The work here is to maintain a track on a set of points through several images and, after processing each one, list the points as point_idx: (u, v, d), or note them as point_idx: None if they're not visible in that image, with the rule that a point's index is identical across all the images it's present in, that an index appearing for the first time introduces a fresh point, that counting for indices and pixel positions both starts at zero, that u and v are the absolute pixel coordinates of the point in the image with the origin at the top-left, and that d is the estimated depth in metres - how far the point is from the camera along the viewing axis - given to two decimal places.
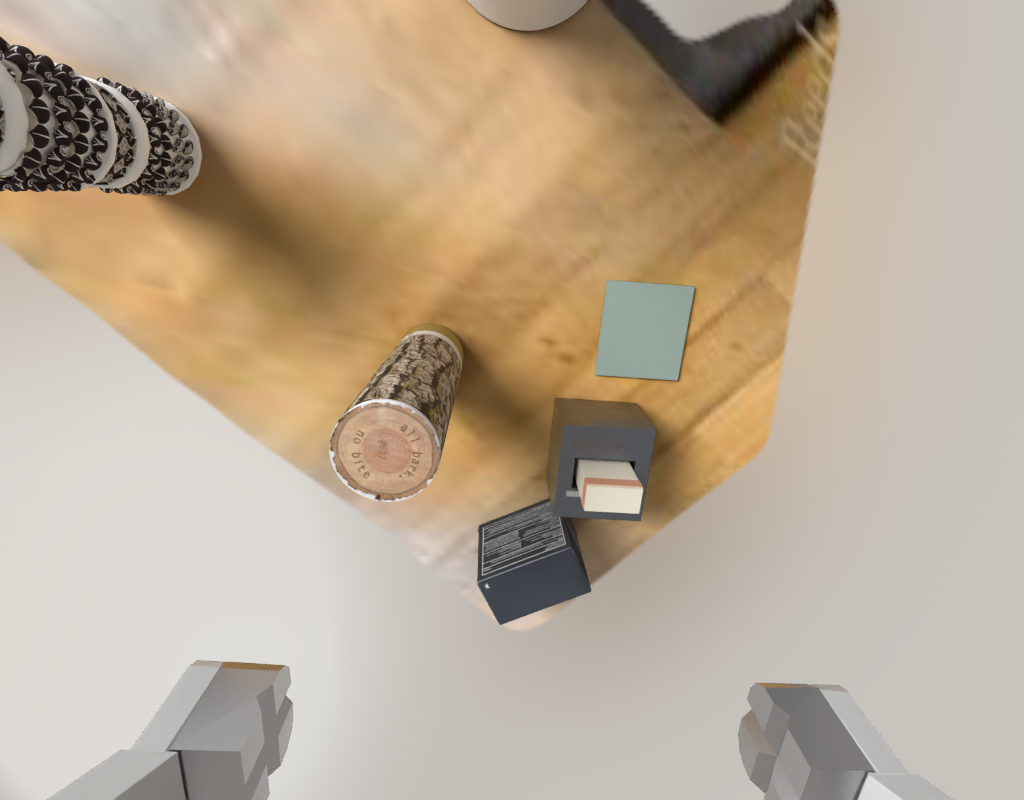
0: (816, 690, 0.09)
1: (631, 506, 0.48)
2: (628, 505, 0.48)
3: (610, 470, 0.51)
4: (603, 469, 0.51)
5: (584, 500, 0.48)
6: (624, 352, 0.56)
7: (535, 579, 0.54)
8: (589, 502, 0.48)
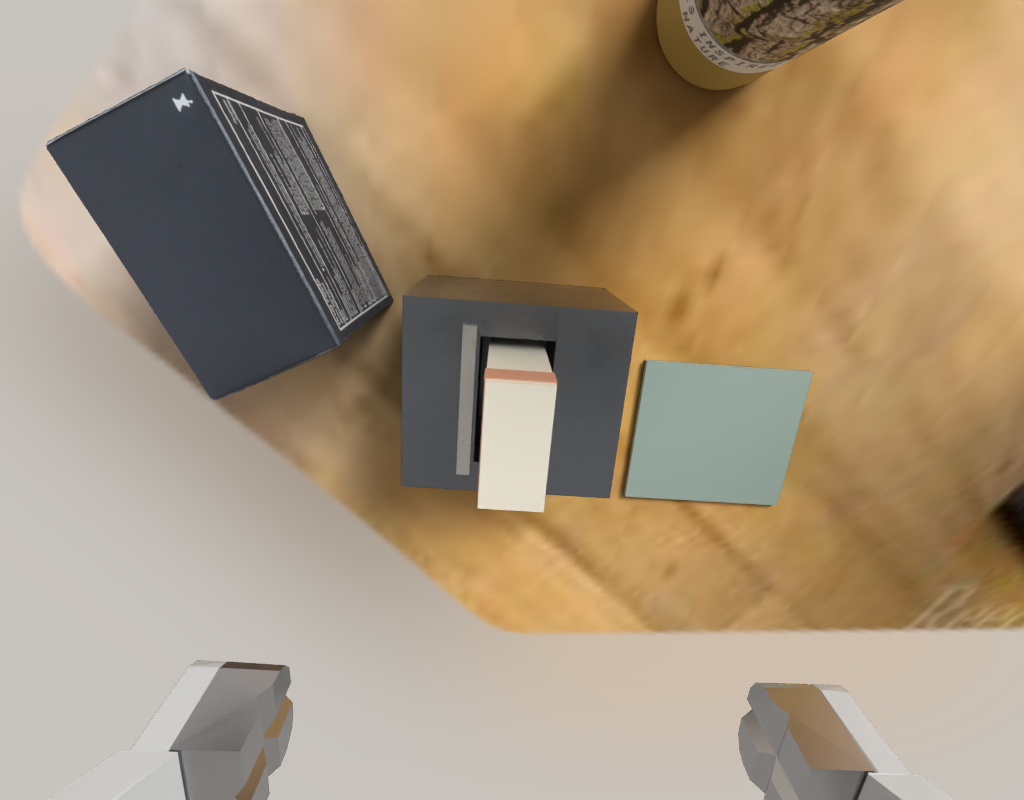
0: (815, 689, 0.09)
1: (497, 490, 0.20)
2: (501, 483, 0.20)
3: None
4: None
5: (508, 378, 0.19)
6: (683, 408, 0.32)
7: (229, 253, 0.19)
8: (511, 393, 0.19)
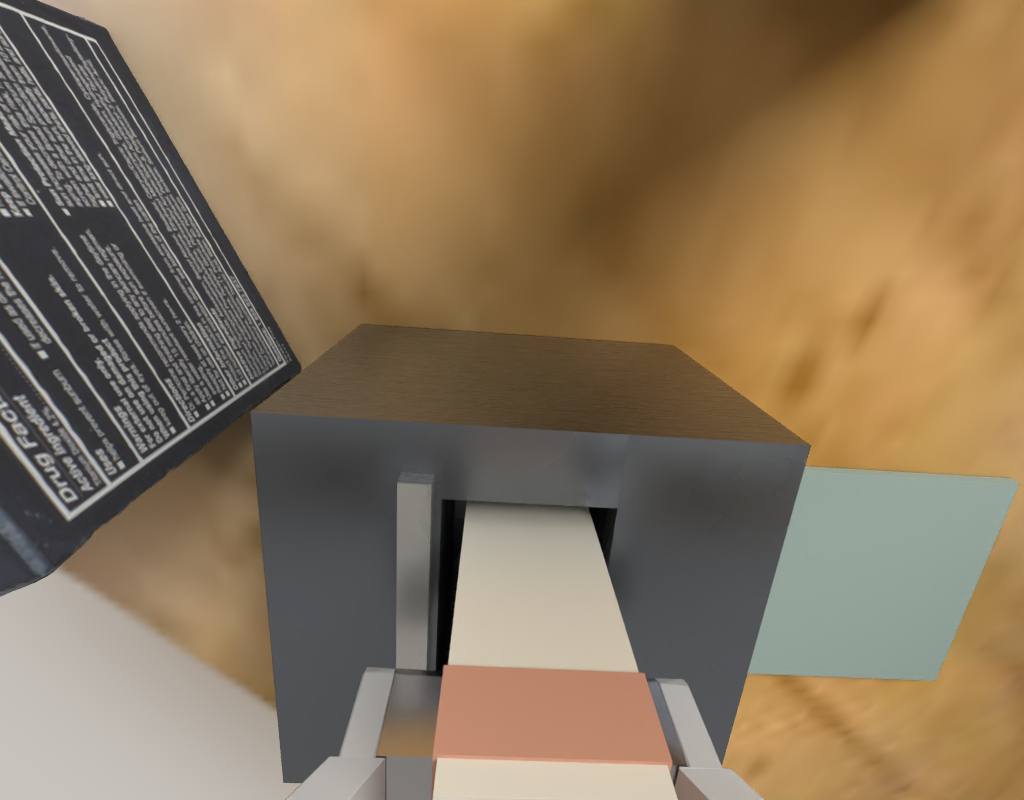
0: (655, 684, 0.09)
1: None
2: None
3: None
4: None
5: (512, 754, 0.06)
6: (798, 540, 0.19)
7: None
8: None
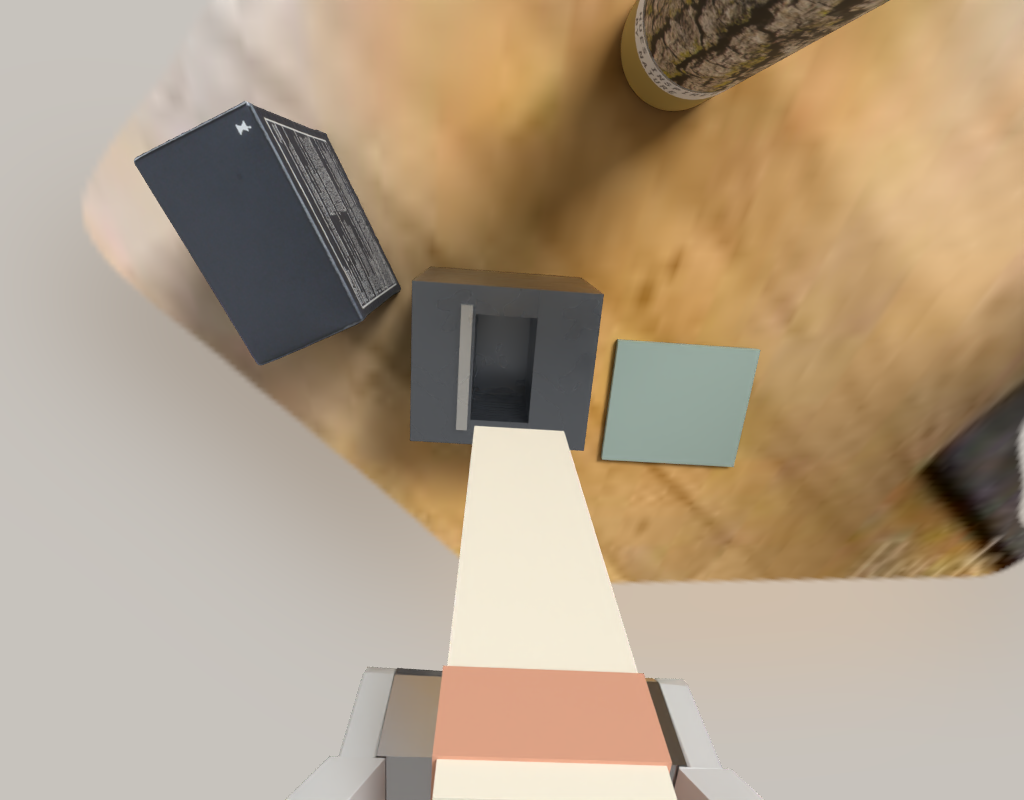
0: (655, 684, 0.09)
1: None
2: None
3: None
4: None
5: (512, 755, 0.06)
6: (650, 381, 0.38)
7: (276, 245, 0.24)
8: None
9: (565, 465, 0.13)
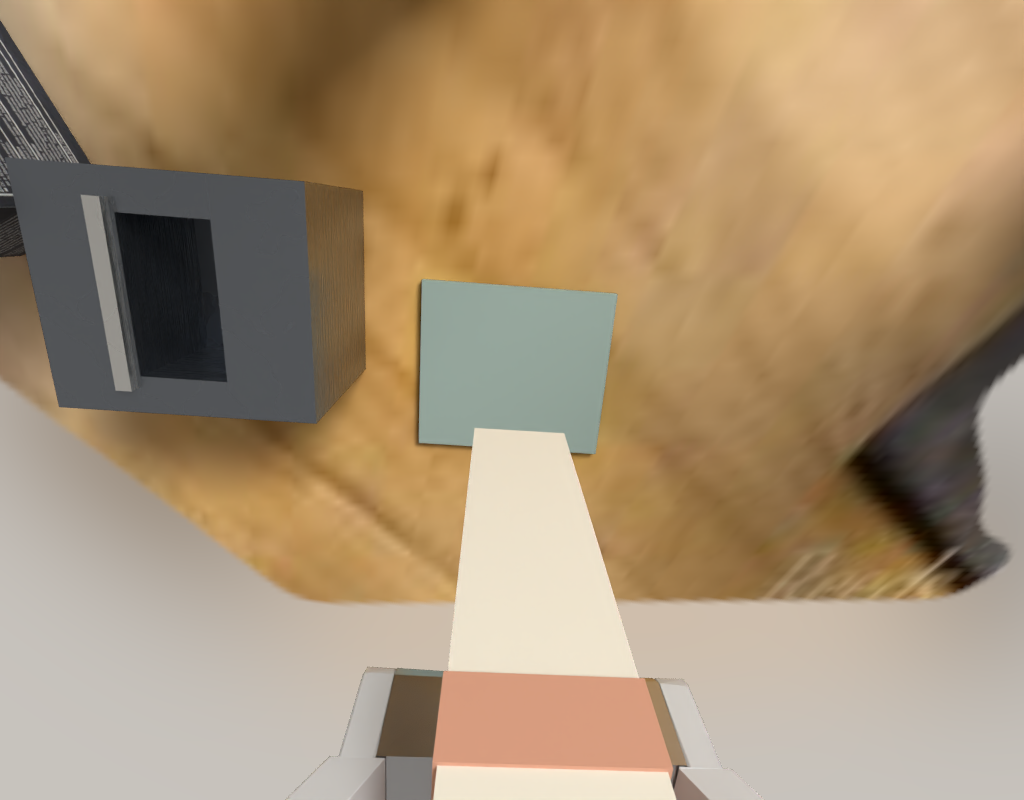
0: (655, 684, 0.09)
1: None
2: None
3: None
4: None
5: (512, 761, 0.06)
6: (472, 337, 0.28)
7: None
8: None
9: (565, 467, 0.13)
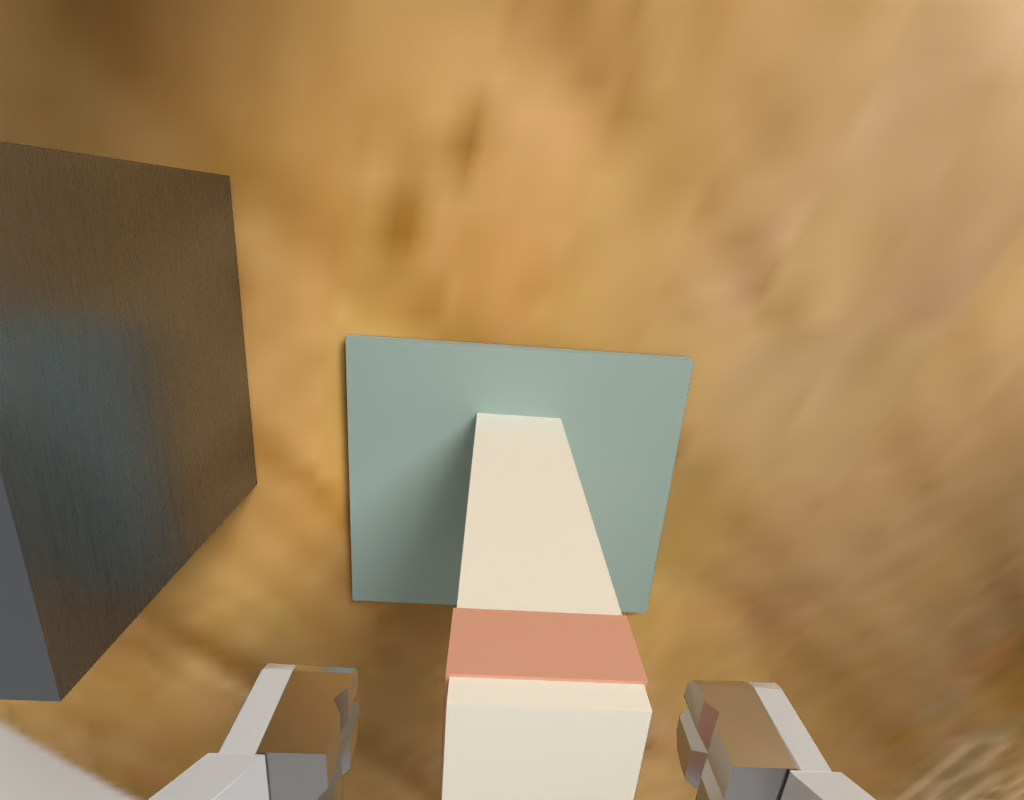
0: (749, 687, 0.09)
1: None
2: None
3: None
4: None
5: (512, 674, 0.07)
6: (438, 434, 0.16)
7: None
8: (520, 729, 0.07)
9: (561, 447, 0.14)
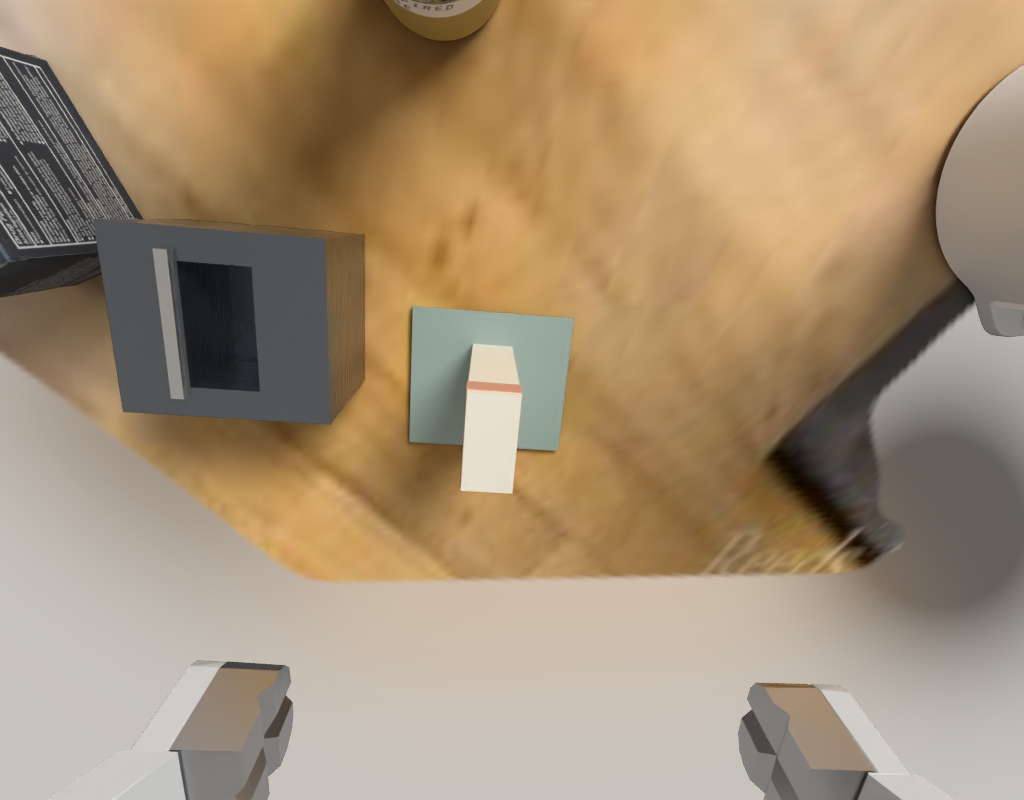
0: (816, 690, 0.09)
1: (476, 476, 0.26)
2: (479, 470, 0.25)
3: None
4: None
5: (484, 389, 0.25)
6: (454, 354, 0.34)
7: None
8: (486, 401, 0.24)
9: (510, 354, 0.32)
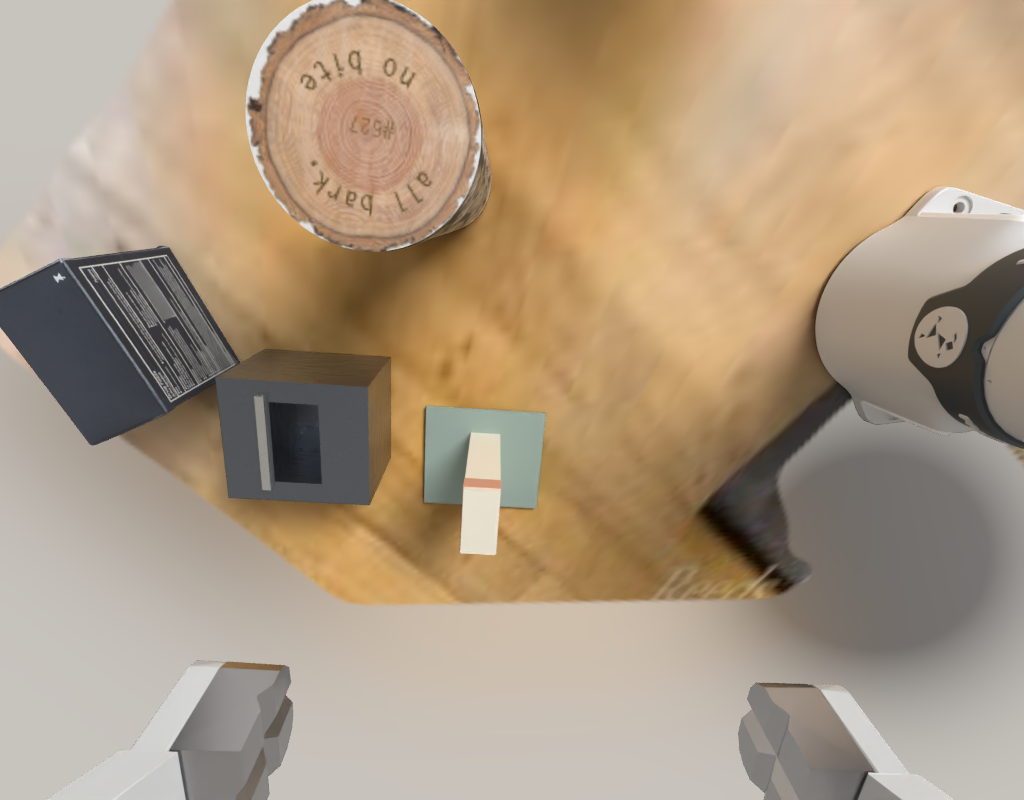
0: (815, 689, 0.09)
1: (470, 543, 0.37)
2: (472, 539, 0.37)
3: None
4: None
5: (475, 486, 0.36)
6: (457, 439, 0.45)
7: (93, 360, 0.32)
8: (476, 495, 0.36)
9: (497, 444, 0.43)
